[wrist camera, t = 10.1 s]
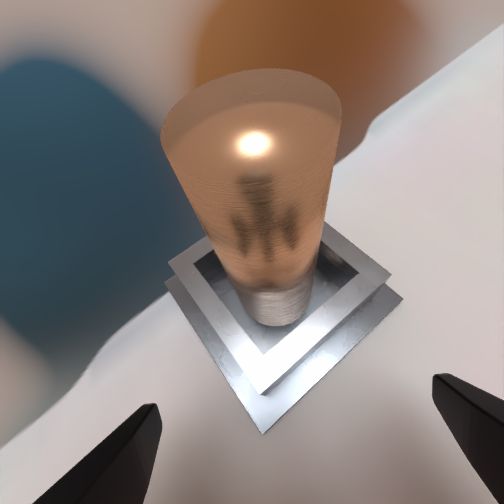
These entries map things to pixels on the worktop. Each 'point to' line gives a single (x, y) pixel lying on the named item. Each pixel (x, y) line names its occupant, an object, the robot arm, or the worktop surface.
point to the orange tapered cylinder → (259, 179)
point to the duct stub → (287, 336)
